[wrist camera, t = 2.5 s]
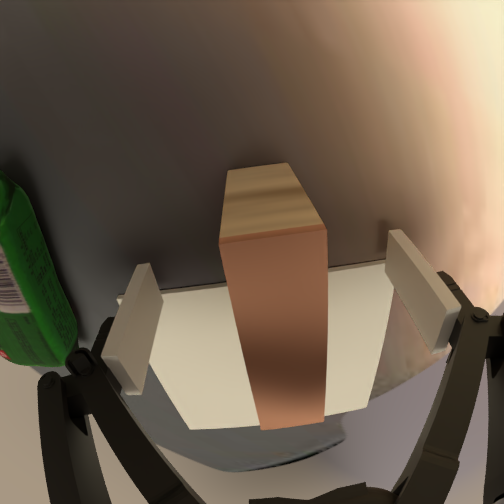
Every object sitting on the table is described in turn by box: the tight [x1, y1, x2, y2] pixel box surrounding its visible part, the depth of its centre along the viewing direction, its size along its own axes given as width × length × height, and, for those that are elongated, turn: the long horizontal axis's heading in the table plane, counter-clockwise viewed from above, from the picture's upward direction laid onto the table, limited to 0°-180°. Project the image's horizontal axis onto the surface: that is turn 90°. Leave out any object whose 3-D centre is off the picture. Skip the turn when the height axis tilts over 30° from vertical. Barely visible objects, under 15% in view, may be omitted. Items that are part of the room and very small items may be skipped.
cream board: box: [117, 259, 394, 429], centre depth 24 cm, size 18×18×1 cm
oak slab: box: [219, 163, 328, 430], centre depth 15 cm, size 10×3×8 cm, turn 8°
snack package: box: [0, 170, 79, 367], centre depth 16 cm, size 7×16×5 cm, turn 1°
